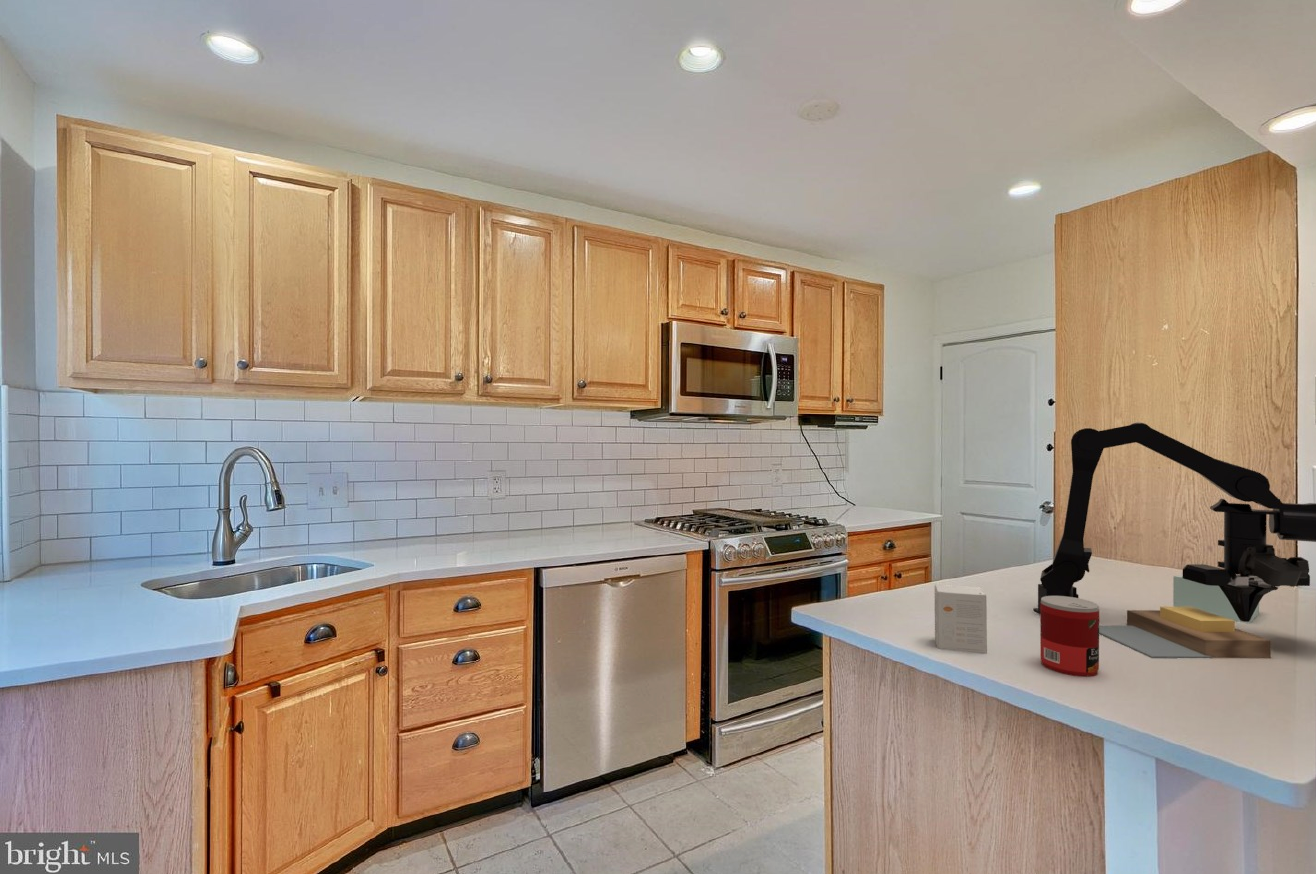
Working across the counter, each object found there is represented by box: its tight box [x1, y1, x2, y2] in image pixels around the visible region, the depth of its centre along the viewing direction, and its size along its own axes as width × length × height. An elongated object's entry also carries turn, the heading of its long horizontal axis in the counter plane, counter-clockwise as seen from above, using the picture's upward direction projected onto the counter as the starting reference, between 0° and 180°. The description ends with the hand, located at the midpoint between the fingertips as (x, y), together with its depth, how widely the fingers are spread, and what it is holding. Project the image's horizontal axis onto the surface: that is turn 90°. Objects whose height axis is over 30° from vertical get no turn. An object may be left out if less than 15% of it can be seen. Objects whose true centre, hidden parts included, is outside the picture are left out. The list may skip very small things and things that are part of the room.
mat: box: [1099, 625, 1212, 659], centre depth 114 cm, size 10×17×1 cm, turn 179°
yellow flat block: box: [1159, 606, 1236, 632], centre depth 115 cm, size 6×9×2 cm, turn 179°
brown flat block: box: [1126, 609, 1272, 659], centre depth 115 cm, size 11×18×3 cm, turn 179°
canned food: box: [1039, 596, 1100, 677], centre depth 101 cm, size 8×8×11 cm
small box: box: [934, 584, 988, 654], centre depth 111 cm, size 8×6×10 cm
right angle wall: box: [1172, 575, 1260, 624], centre depth 133 cm, size 12×12×8 cm
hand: (1244, 621), depth 114 cm, fingers closed
